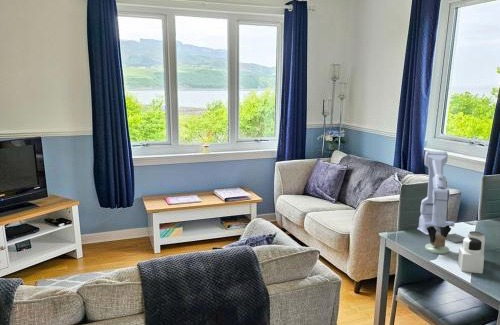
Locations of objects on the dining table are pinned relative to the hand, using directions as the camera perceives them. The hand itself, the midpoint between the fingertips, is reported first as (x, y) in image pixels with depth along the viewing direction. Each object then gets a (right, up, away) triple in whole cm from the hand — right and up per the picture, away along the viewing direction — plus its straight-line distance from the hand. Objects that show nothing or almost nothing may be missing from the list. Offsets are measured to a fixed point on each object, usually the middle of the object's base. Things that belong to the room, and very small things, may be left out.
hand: (437, 241), depth 174 cm
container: (+4, -8, -19) cm, 21 cm away
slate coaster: (+16, -2, +13) cm, 21 cm away
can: (+11, -6, -10) cm, 16 cm away
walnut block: (0, -2, 0) cm, 2 cm away
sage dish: (0, -4, +1) cm, 4 cm away
